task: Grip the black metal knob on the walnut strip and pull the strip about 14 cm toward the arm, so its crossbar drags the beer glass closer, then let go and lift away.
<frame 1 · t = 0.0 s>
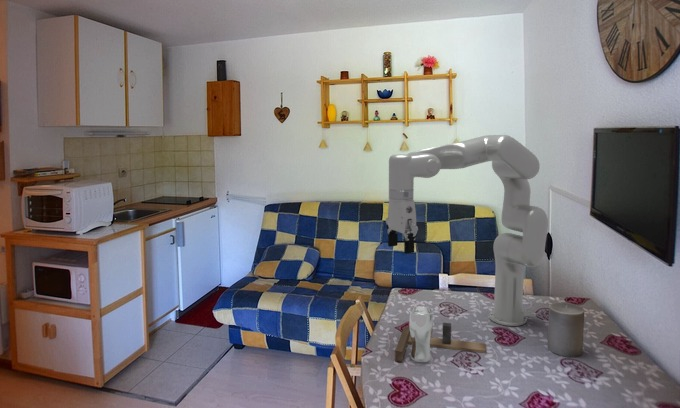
hand: (400, 249, 136), 31 cm above the table, tool pointing down, fingers open, 9 cm apart
beer glass: (420, 358, 131), on the table
walnut strip: (442, 343, 133), point 3 cm above the table, slide at 0.0 cm
pillar candle: (563, 350, 135), on the table
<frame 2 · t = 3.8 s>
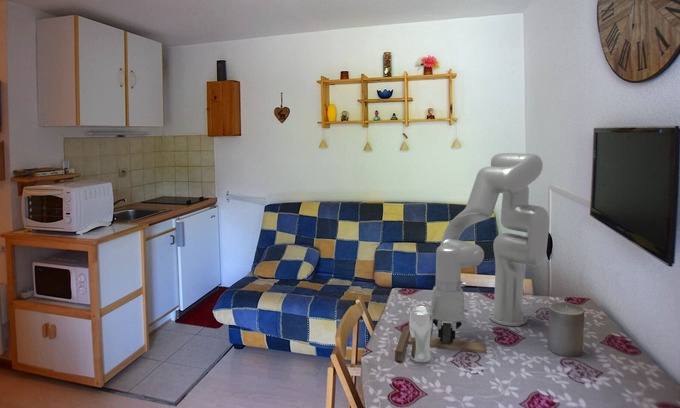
hand: (446, 339, 139), 2 cm above the table, tool pointing down, fingers closed on walnut strip, 2 cm apart
walnut strip: (442, 343, 133), point 3 cm above the table, slide at 0.0 cm, touching gripper
everything else where it was.
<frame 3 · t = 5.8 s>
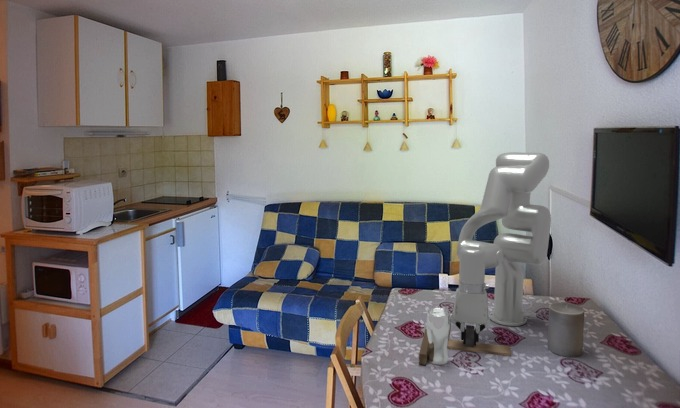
hand: (469, 342, 137), 2 cm above the table, tool pointing down, fingers closed on walnut strip, 2 cm apart
beer glass: (437, 360, 130), on the table, touching walnut strip
walnut strip: (466, 345, 131), point 3 cm above the table, slide at 7.0 cm, touching beer glass, gripper
everything else where it was.
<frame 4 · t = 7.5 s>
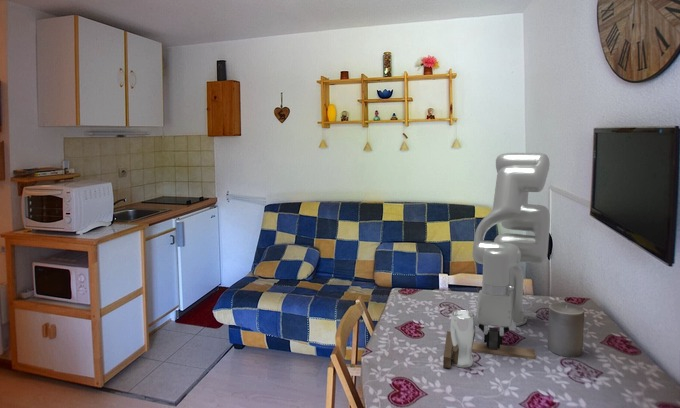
hand: (492, 345, 135), 2 cm above the table, tool pointing down, fingers closed on walnut strip, 2 cm apart
beer glass: (461, 363, 128), on the table, touching walnut strip
walnut strip: (490, 348, 129), point 3 cm above the table, slide at 13.9 cm, touching beer glass, gripper
everything else where it was.
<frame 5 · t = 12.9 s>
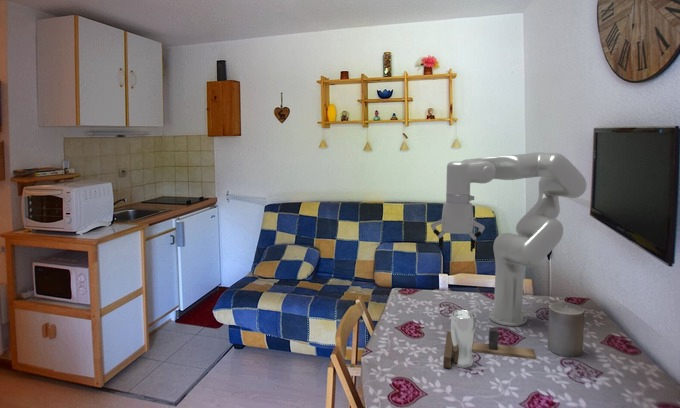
hand: (456, 249, 146), 28 cm above the table, tool pointing down, fingers open, 9 cm apart
beer glass: (462, 363, 128), on the table
walnut strip: (490, 348, 129), point 3 cm above the table, slide at 14.0 cm
everything else where it was.
at the end: walnut strip slide at 14.0 cm; beer glass inside the target area (0.8 cm from its centre), on the table; beer glass tilted 0° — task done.
